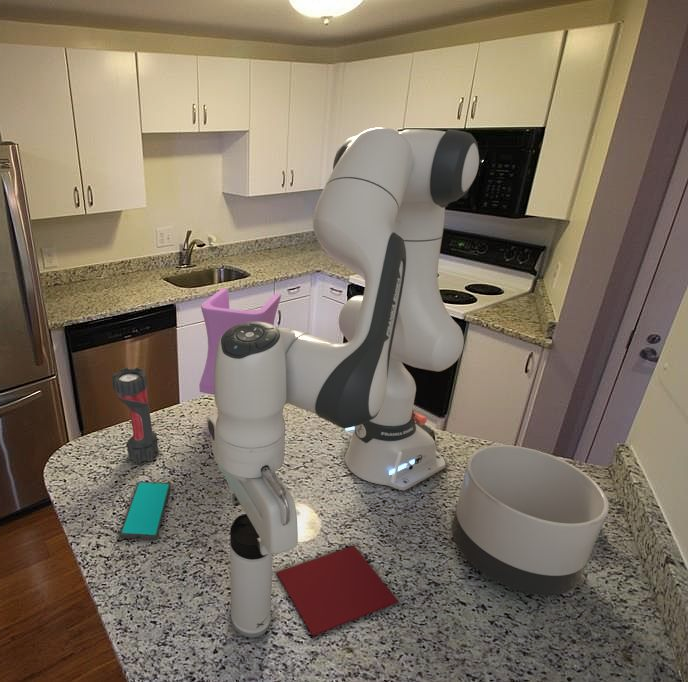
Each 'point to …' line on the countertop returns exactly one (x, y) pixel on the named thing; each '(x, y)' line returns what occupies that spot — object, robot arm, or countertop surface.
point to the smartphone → (146, 511)
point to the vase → (227, 327)
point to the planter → (527, 518)
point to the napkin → (335, 589)
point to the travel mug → (249, 580)
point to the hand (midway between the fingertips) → (250, 524)
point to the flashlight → (137, 413)
